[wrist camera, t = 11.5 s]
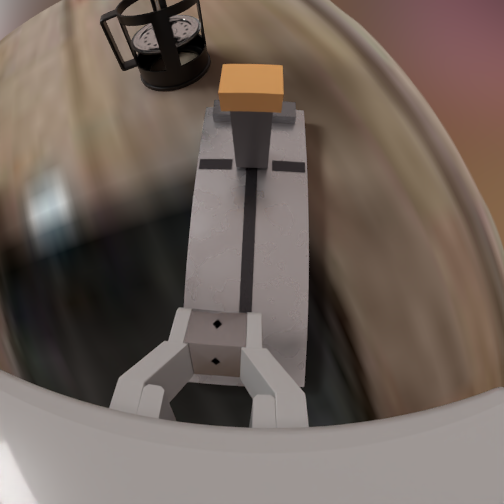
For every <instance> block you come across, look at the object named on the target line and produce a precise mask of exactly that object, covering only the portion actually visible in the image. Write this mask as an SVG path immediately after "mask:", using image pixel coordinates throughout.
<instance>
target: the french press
mask: <svg viewBox="0 0 504 504" xmlns="http://www.w3.org/2000/svg"><path fill="white" fill-rule="evenodd" d="M136 1H138V0H123V1H121V2H120V3H119V4H118V6H117V7H116V9H115V10H113V11H110V12H108V13H105V14H103V15H102V16H101V19H100V24H101V27H102V29H103V31H104V33H105V35H106V37H107V40H108V42H109V44H110V46H111V48H112V50H113V52H114V54H115V56H116V59H117V61H118V63H119V65H120V67H121V69H122V70H123V71H126V70H129V69H131V68H134V67H137V66H138V69H139V71H140V73H141V80H142V82H143V84H144V85H145V86H146V87H148V88H150V89H152V90H157V91H170V90H176V89H180V88H183V87H186V86H188V85H190V84H192V83H194V82H196V81H197V80H199V79H200V78H201V77H202V76H203V75H204V74H205V73H206V72H207V71H208V69H209V67H210V62H211V61H210V56H209V54H208V52H207V47H206V41H205V34H204V28H203V22H202V15H201V9H200V2H199V0H183V1H181V2H179V3H176V4H174V5H172V6H169V7H167V5H166V1H165V0H150V1H151V4H152V8H153V11H154V12H150V13H146V14H142V15H135V16H123V15H121V14H122V13H123V11H124V10H125V9H126V8H127V7H129V6H130V5H131V4H133V3H134V2H136ZM195 3H197V9H198V16H199V20H198V19H196V18H194V17H192V16H187V15H177V14H179V13H181V12H184V11H185V10H187V9H189V8H190V7H192V6H193V5H194V4H195ZM116 16H117V18H118V20H119V23H120V25H121V28H122V30H123V33H124V35H125V38H126V40H127V43H128V45H129V47H130V50H131V52H132V55H133V57H134V59H132V60H129V61H126V62H124V60H123V58H122V56H121V54H120V52H119V50H118V47H117V45H116V43H115V41H114V38H113V36H112V34H111V32H110V29H109V27H108V25H107V23H106V20H109V19H111V18H114V17H116ZM145 24H147V25H146V26H144V27H143V28H141V29H140V30H139V31H138V32H137V33H136V34H135V35H134V36H133V38H132V40H131V39H130V36H129V34H128V31H127V29H126V26H125V25H127V26H138V25H145ZM200 28H201V34H202V36H201V35H200V34H199V31H200ZM177 51H190V52H193V53H195V54H197V55H198V56H197V57H196V58H194V59H193V60H192V61H190V62H188V63H186V64H184V65H182V66H181V63H180V59H179V55H178V52H177ZM136 52H138V55H137V54H136ZM161 57H162V58H163V61H164V64H165V67H166V70H164V71H150V69H151V67H152V65H153V64H154V63H155V62H156V61H157V60H158V59H160V58H161Z"/></svg>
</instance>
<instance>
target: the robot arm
mask: <svg viewBox="0 0 504 504" xmlns="http://www.w3.org/2000/svg"><path fill="white" fill-rule="evenodd" d="M193 374H201V375H217V376H228V377H240V379H241V381H242V383H243V384H244V386H245V388H246V389H247V391H248V393H249V394H250V396H251V397H252V399H253V403H252V410H251V417H250V424H249V428H245V427H226V426H213V425H202V424H193V423H185V422H178V421H176V418H175V416H174V414H173V411H172V409H171V406H170V403H169V402H170V401H171V400H172V399H173V398H174V397H175V396H176V395H177V393H178V392H179V391H180V390H181V389H182V388H183V387H184V386H185V384H186V383H187V382H188V381H189V380H190V379H191V378H192V377H193ZM0 504H504V387H497V388H494V389H492V390H489V391H486V392H484V393H481V394H478V395H475V396H472V397H469V398H466V399H463V400H460V401H457V402H453V403H450V404H446V405H443V406H439V407H435V408H432V409H428V410H424V411H419V412H415V413H411V414H406V415H401V416H396V417H391V418H385V419H379V420H373V421H366V422H359V423H351V424H342V425H331V426H318V427H309V426H308V416H307V406H306V397H305V393H304V392H303V391H302V390H301V388H300V387H299V386H298V385H297V384H296V383H295V381H294V380H293V379H292V378H291V377H290V376H289V374H288V373H287V372H286V371H285V370H284V368H283V367H282V366H281V365H280V364H279V362H278V361H277V360H276V359H275V358H274V356H273V355H272V354H271V353H270V352H269V350H268V349H267V348H263V333H262V314H261V313H254V312H231V311H213V310H202V309H189V308H181V307H179V308H178V309H177V311H176V315H175V318H174V322H173V325H172V329H171V333H170V336H169V340H168V341H164V342H162V343H161V344H160V345H159V346H157V347H156V348H155V349H154V350H152V351H151V352H150V353H149V354H148V355H146V356H145V357H144V358H143V359H141V360H140V361H139V362H138V363H136V364H135V365H134V366H133V367H132V368H130V369H129V370H128V371H127V372H125V373H124V374H123V375H122V376H120V377H119V379H118V382H117V385H116V388H115V391H114V394H113V397H112V400H111V404H110V407H109V408H106V407H102V406H99V405H95V404H91V403H88V402H84V401H81V400H78V399H74V398H71V397H68V396H65V395H62V394H59V393H56V392H53V391H51V390H48V389H45V388H43V387H40V386H37V385H35V384H32V383H30V382H27V381H25V380H23V379H20V378H18V377H16V376H13V375H11V374H9V373H7V372H5V371H3V370H0Z"/></svg>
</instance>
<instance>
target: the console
mask: <svg viewBox="0 0 504 504" xmlns="http://www.w3.org/2000/svg"><path fill="white" fill-rule="evenodd" d="M308 289H309V216H308V179H307V156H306V138H305V122H304V110H296V104H295V102H284V101H283V103H282V110H281V113H276V112H273V116H272V127H271V138H270V149H269V160H268V168H247V167H236V162H235V153H234V144H233V135H232V126H231V117H230V111H221V108H220V101H219V100H215V101H214V107H206V113H205V118H204V125H203V131H202V137H201V144H200V150H199V157H198V165H197V172H196V180H195V188H194V196H193V204H192V213H191V223H190V233H189V243H188V255H187V267H186V280H185V295H184V308H189V309H202V310H213V311H231V312H254V313H261V314H262V333H263V348H267V349H268V350H269V352H270V353H271V354H272V355H273V356H274V358H275V359H276V360H277V361H278V362H279V364H280V365H281V366H282V367H283V368H284V370H285V371H286V372H287V373H288V374H289V376H290V377H291V378H292V379H293V380H294V381H295V383H296V384H297V385H298V386H299V387H304V383H305V367H306V349H307V325H308ZM188 382H195V383H206V384H217V385H232V386H244V384H243V383H242V381H241V379H240V377H228V376H217V375H201V374H193V377H192V378H191V379H190V380H189V381H188Z"/></svg>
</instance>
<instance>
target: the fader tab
mask: <svg viewBox="0 0 504 504" xmlns="http://www.w3.org/2000/svg"><path fill="white" fill-rule="evenodd" d="M218 95H219V101H220V108H221V111H230V117H231V126H232V135H233V144H234V153H235V162H236V167H247V168H268V160H269V149H270V138H271V127H272V116H273V112H276V113H281V110H282V103H283V95H284V92H283V65H265V64H223V67H222V73H221V79H220V85H219V91H218Z"/></svg>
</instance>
